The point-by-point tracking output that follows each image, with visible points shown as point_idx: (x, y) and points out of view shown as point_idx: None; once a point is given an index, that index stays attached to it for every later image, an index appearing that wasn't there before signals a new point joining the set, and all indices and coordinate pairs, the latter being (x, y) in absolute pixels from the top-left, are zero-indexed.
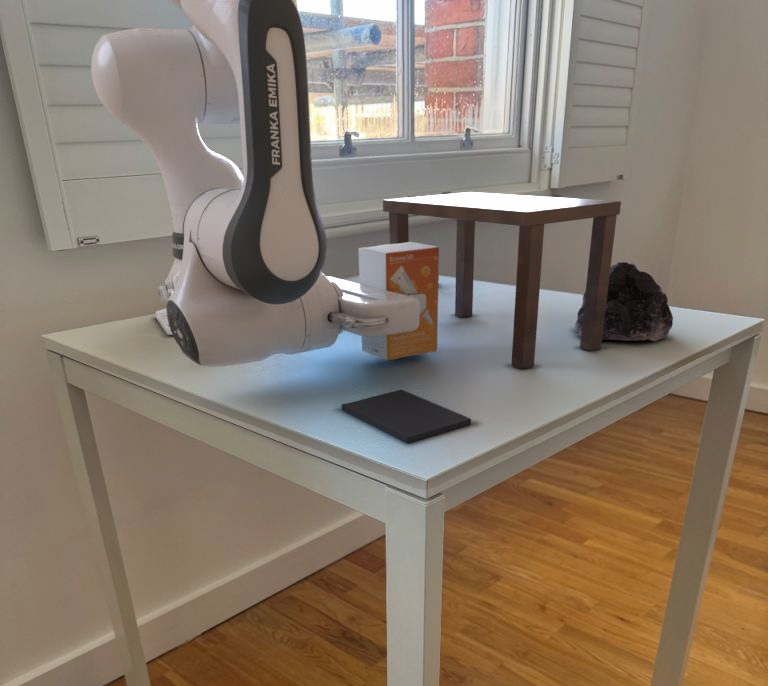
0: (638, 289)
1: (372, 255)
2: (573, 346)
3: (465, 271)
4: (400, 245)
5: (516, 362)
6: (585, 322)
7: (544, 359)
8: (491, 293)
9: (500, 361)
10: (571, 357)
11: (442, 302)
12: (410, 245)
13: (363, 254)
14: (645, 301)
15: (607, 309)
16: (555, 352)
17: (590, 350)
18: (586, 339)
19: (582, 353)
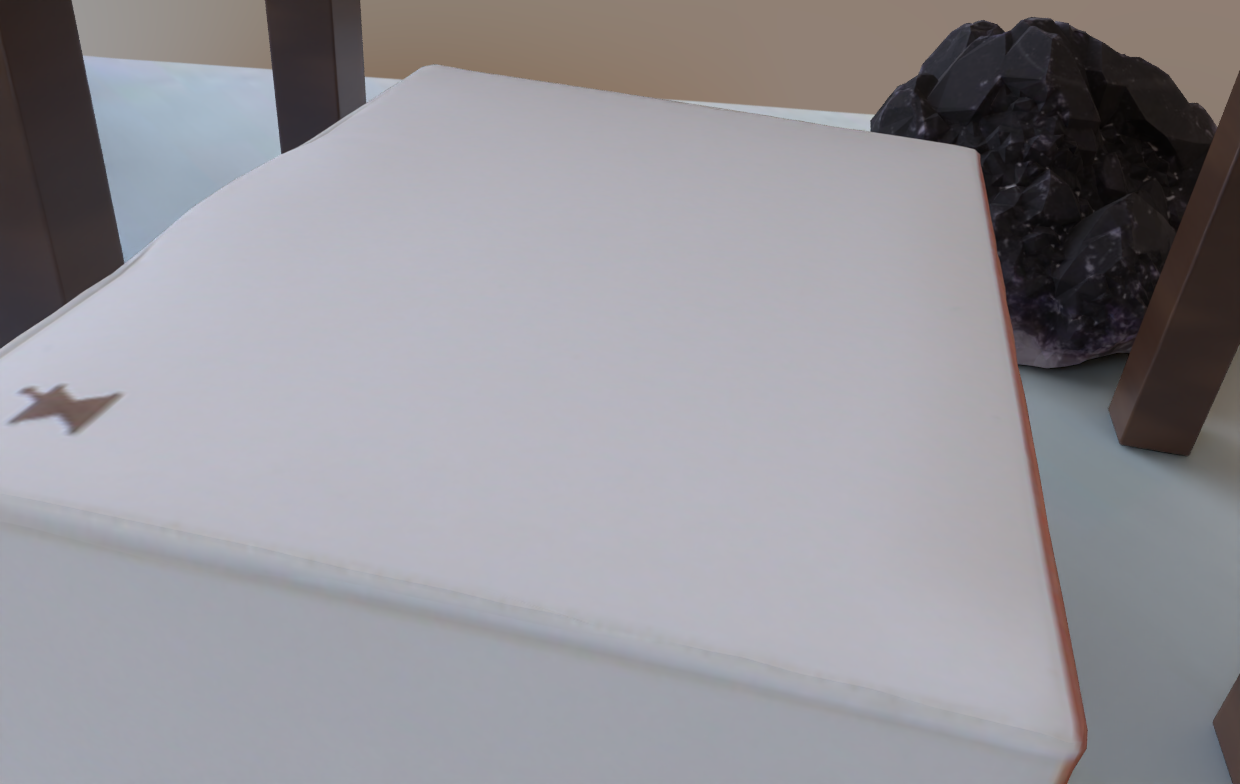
0: (1154, 133)
1: (431, 694)
2: (1075, 436)
3: (343, 101)
4: (557, 197)
5: None
6: (1179, 346)
7: (1200, 621)
8: (273, 118)
9: (1107, 759)
10: (1233, 547)
11: (128, 210)
12: (671, 173)
13: (57, 623)
14: (1183, 177)
15: (1124, 241)
16: (1116, 521)
17: (1187, 455)
18: (1172, 413)
19: (1197, 488)
